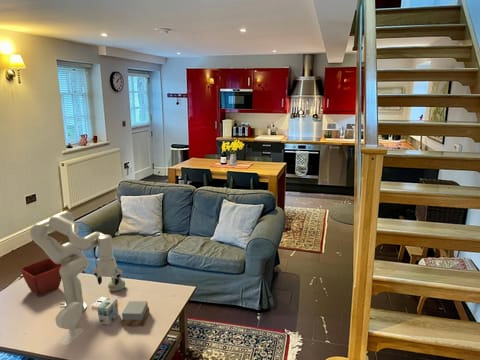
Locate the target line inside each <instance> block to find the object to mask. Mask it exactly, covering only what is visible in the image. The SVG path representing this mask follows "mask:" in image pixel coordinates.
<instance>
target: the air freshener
mask: <svg viewBox="0 0 480 360" xmlns="http://www.w3.org/2000/svg"><path fill="white" fill-rule="evenodd" d="M121 276H122V275H121ZM121 276H120V277H119V283H118V284H117V285H115V277H110V278H111V279H110V282H108V284H107V289H109V290H110V291H111V292H117V291H121V290H122V289H123V288H125V286H126V281H125V280H124V279H122V277H121Z"/></svg>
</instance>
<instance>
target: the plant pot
mask: <svg viewBox="0 0 480 360" xmlns="http://www.w3.org/2000/svg"><path fill="white" fill-rule="evenodd" d="M62 265H63V264H62V263H61V264H55V263H54V262H53V261H52V260H51V259H50V257H48V258H45V259H42V260H40V261H37V262H34V263H31V264H29V265H25V266H23V267H21V268H20V272H21V275H22V277H23V279H24V281H25V282H26V285H27V287H28V288H29V290H30V291H31V292H32V293H33V294H35V295H37V296H38V297H43V296H45V295H47V294H50V293H52V292H55V291H56V290H58V289H59V288H60V285H61V283H62V278H61V276H60V273H59V270H60V268H61V266H62Z"/></svg>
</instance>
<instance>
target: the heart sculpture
mask: <svg viewBox="0 0 480 360" xmlns="http://www.w3.org/2000/svg"><path fill="white" fill-rule="evenodd" d="M82 313H83V312H82V303H79V302H72V303H70V304H69V305H68V306H67V308H66V309H65V308H63V309H62V308H61V310H60V311H59V312H58V313H57V315H56V316H55V324H56V327H58V328H60V329H64V330H68V331H69V333H68V334H69V335H67V336H66V337H65V338H64V339H63V340H62V341H60V344H61V345H63V346H64V345H65V346H67V345H69V344H71V343H72V342H73V341H74V340H75V339H76V338H77V337H78V336H79V335H81V334H82V333H83V332H84V329H83V328H76V326H77V324H78V323H79V321H80V318H81V317H82ZM75 328H76V329H75Z"/></svg>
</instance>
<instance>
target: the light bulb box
mask: <svg viewBox="0 0 480 360" xmlns="http://www.w3.org/2000/svg"><path fill="white" fill-rule="evenodd" d="M118 303H119V302H118V298H114V297H113V298H112V297H106V298H105V300H103V301H102V302H101V303H100V304H99V305H98V306H97V315H98V323H99V325H107V326H110V325H111V324H112V323H113V322H114V321H115V319H116V318H117V317H118V316H119V307H118V306H119V305H118Z"/></svg>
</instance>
